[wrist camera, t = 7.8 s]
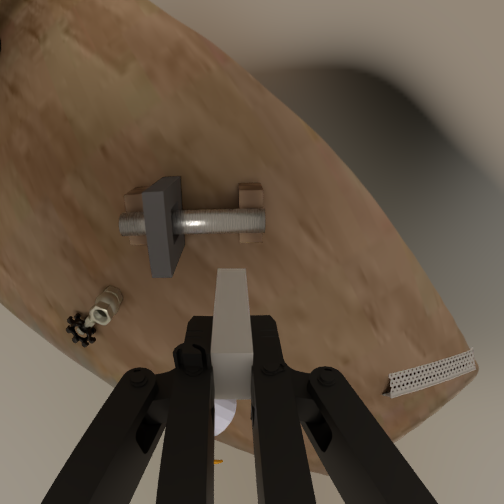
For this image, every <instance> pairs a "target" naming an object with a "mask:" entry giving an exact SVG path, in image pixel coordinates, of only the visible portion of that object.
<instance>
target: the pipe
mask: <svg viewBox="0 0 504 504" xmlns="http://www.w3.org/2000/svg"><path fill="white" fill-rule="evenodd" d="M171 220H172V231H173V235H178V234H225V233H265V210H264V208H261V209H200V210H171ZM119 230H120V233H121V235H122V236H142V235H146V229H145V221H144V212H128V213H122V214H121V215H120V218H119Z"/></svg>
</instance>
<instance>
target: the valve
mask: <svg viewBox="0 0 504 504" xmlns="http://www.w3.org/2000/svg"><path fill="white" fill-rule="evenodd" d="M122 300H123V297H122V294H121V292H120V289H118V288H115V287H112V286H108V287H107V288H106V289H105V290H104V292H103V293H101V294H100V295H99V296H98V297H97V298H96V301H95V305H94V306H93V307H92V308H91V309H90V312H89V313H90V315H89V316H88V317H87V318H86V319H85V320H84V321H83V320H81V319H80V317H81V315H80V314H79V313H77V314H76V315H75V316H74V318H75V320H73V319H72V318H73V317H72V316H70V317H69V318H68V319H67V322H68V323H69V324H71V327H70V325H69V326H68V327H67V328H66V331H67V332H68V333H72V334H73V335H74V337H73V338H72V341H73V342H74V343H77V342H78V341H81V342H82V346H83V347H87V346H88V345H89V342H90V343H94V342H95V341H96V338H95V337H91V335H92V334H94V333H95V332H96V329H95V328H94V327H92V326H93V325H94V324H95V323H99V324H101V325H106V324H108V323H109V322H110V321H111V319H112V318H113V316H114V315H115V314H116V313H117V312H118V309H119V304H120V303H121V301H122ZM76 326H78V328H77V331H78V333H79V334H81V335H83V334H84V333H86V334H87V337H86V338H82V337H80V336H79V335H78V334H77V333H76V331H75V327H76ZM91 327H92V328H91ZM87 341H89V342H87Z"/></svg>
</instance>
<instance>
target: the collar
mask: <svg viewBox="0 0 504 504" xmlns="http://www.w3.org/2000/svg"><path fill="white" fill-rule="evenodd" d="M142 201H143V211H144V221H145V229H146V238H147V245H148V253H149V260H150V266H151V273H152V278H172V276H173V274H174V271H175V268H176V266H177V263H178V261H179V258H180V256H181V253H182V251H183V248H184V246H185V240H184V234H178V235H173V231H172V220H171V210H182V198H181V179H180V176H173V177H163V178H161V179H160V180H158V181H157V182H156V183H154V184H153V185H151V186H150V187H149V188H147V189H146V190H145V191H143V192H142Z"/></svg>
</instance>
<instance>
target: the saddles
mask: <svg viewBox="0 0 504 504" xmlns="http://www.w3.org/2000/svg"><path fill="white" fill-rule="evenodd" d="M147 188H149V187H137V188H134V189H133V190H131V191H130V192H128V193H127V194H125V195H124V199H125V208H126V213H128V212H144V211H143V201H142V192H143V191H145V190H146V189H147ZM261 208H263V188H262V186H261V184H260V183H239V209H261ZM129 239H130V245H147V238H146V235H142V236H129ZM239 241H240V243H263V233H239Z"/></svg>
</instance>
